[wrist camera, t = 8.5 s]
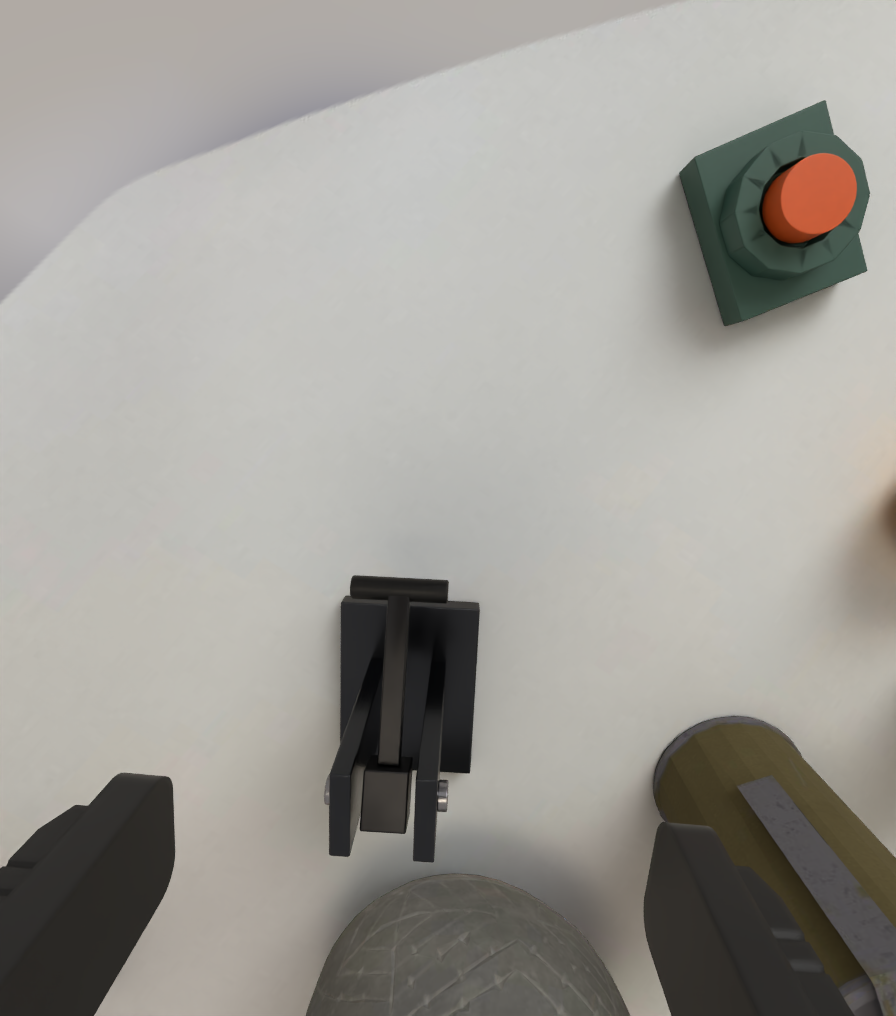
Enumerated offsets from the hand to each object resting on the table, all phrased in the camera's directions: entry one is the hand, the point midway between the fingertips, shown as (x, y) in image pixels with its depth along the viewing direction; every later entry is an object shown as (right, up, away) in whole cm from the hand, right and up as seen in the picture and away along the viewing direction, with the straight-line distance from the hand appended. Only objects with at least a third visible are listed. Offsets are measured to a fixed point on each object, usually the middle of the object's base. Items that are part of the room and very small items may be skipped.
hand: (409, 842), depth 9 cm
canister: (+20, -14, +30) cm, 39 cm away
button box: (+19, +22, +23) cm, 37 cm away
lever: (-2, -4, +20) cm, 21 cm away
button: (+19, +21, +19) cm, 34 cm away
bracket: (-2, -6, +29) cm, 30 cm away
